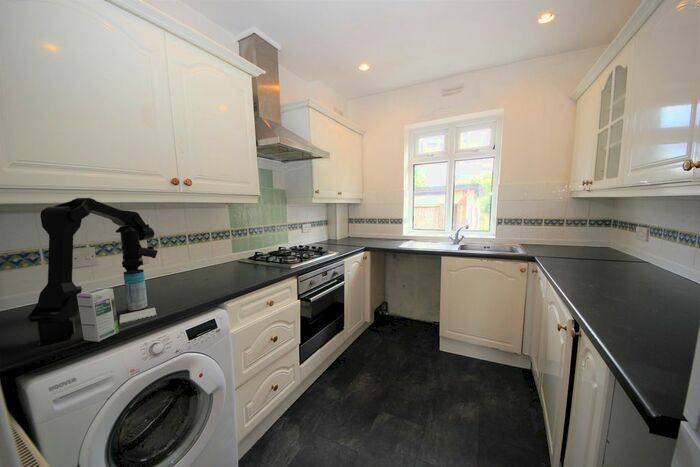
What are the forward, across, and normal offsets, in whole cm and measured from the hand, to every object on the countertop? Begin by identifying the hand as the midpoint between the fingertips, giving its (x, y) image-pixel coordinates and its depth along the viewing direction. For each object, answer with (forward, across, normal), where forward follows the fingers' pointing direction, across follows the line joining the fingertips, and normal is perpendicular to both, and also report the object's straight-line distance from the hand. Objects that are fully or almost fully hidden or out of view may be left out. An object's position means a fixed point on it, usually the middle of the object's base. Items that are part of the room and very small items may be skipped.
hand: (134, 279), depth 107 cm
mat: (+9, -20, 0) cm, 22 cm away
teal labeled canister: (+9, -13, 0) cm, 16 cm away
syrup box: (+9, -32, +9) cm, 34 cm away
